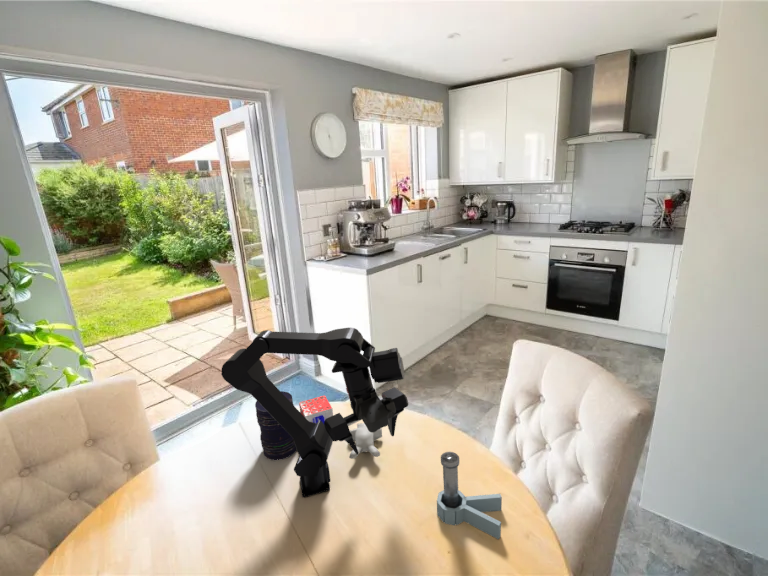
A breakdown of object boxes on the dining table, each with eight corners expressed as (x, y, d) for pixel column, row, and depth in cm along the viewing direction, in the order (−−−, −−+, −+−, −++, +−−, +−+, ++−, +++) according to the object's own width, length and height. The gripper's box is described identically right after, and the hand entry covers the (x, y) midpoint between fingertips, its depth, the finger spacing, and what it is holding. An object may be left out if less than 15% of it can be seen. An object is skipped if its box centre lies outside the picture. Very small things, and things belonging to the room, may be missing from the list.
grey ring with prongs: (434, 525, 80) (434, 512, 79) (441, 495, 87) (440, 482, 87) (500, 540, 76) (500, 526, 75) (501, 507, 83) (501, 493, 82)
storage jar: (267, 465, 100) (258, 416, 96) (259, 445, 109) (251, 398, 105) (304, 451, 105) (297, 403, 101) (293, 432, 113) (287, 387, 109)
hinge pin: (443, 520, 81) (441, 464, 77) (442, 505, 85) (440, 451, 81) (461, 520, 81) (460, 464, 77) (459, 505, 84) (458, 451, 81)
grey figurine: (380, 416, 112) (382, 445, 97) (382, 432, 112) (383, 463, 98) (348, 419, 111) (344, 448, 97) (349, 435, 112) (346, 467, 97)
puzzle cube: (327, 417, 119) (324, 395, 117) (335, 431, 112) (332, 408, 110) (301, 425, 116) (298, 402, 114) (308, 440, 109) (304, 416, 107)
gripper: (331, 419, 74) (350, 485, 78) (413, 381, 81) (427, 443, 85) (315, 396, 84) (333, 456, 88) (389, 364, 91) (403, 420, 95)
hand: (375, 444), depth 88 cm, fingers open, 9 cm apart
